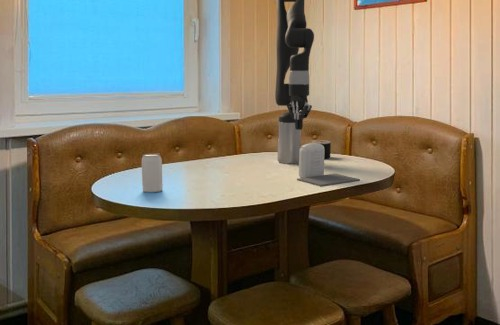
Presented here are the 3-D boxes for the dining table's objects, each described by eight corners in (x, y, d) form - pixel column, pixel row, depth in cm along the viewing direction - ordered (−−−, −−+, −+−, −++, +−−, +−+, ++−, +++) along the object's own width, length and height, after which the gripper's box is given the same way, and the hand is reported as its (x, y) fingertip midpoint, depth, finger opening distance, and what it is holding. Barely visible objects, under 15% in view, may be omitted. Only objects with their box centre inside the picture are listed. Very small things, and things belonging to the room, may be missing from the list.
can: (143, 189, 183) (142, 153, 181) (163, 188, 184) (162, 152, 182) (141, 193, 177) (140, 156, 175) (161, 192, 177) (160, 155, 175)
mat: (297, 180, 197) (297, 178, 197) (335, 174, 206) (335, 173, 206) (320, 186, 186) (320, 184, 186) (359, 180, 195) (359, 179, 195)
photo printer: (318, 173, 208) (318, 141, 206) (325, 175, 205) (326, 142, 203) (296, 176, 203) (297, 143, 201) (304, 178, 199) (304, 144, 197)
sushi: (326, 159, 241) (326, 141, 240) (308, 158, 246) (308, 140, 244) (333, 157, 248) (333, 139, 247) (316, 155, 252) (316, 138, 251)
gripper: (280, 83, 209) (280, 128, 211) (302, 83, 198) (301, 131, 200) (296, 82, 213) (296, 127, 215) (318, 83, 202) (317, 130, 204)
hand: (298, 129), depth 208 cm, fingers closed
